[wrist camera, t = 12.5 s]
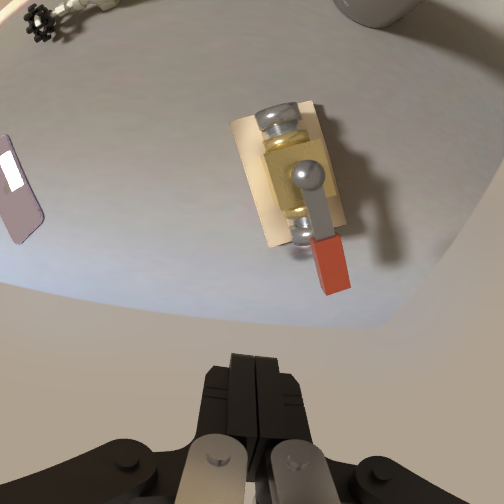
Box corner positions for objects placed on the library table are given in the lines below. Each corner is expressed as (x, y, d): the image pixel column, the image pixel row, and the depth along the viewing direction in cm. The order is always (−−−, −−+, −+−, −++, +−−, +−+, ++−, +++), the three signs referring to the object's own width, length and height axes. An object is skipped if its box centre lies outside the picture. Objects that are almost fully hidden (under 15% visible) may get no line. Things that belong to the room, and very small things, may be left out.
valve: (123, -21, 24) (48, 15, 25) (106, -45, 18) (25, 0, 18) (126, 11, 26) (48, 49, 26) (107, -12, 20) (22, 35, 20)
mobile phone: (14, 248, 33) (-22, 164, 29) (18, 246, 34) (-18, 164, 30) (43, 219, 32) (4, 130, 28) (47, 218, 33) (8, 131, 29)
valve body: (296, 108, 29) (311, 92, 22) (329, 224, 33) (353, 240, 25) (248, 121, 29) (250, 107, 22) (284, 238, 33) (296, 258, 26)
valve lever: (287, 164, 23) (290, 164, 22) (315, 156, 23) (321, 156, 22) (319, 287, 26) (325, 296, 25) (345, 279, 26) (351, 287, 24)
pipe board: (308, 103, 30) (316, 95, 27) (342, 221, 34) (353, 228, 30) (229, 124, 31) (228, 118, 27) (267, 244, 34) (270, 253, 31)
